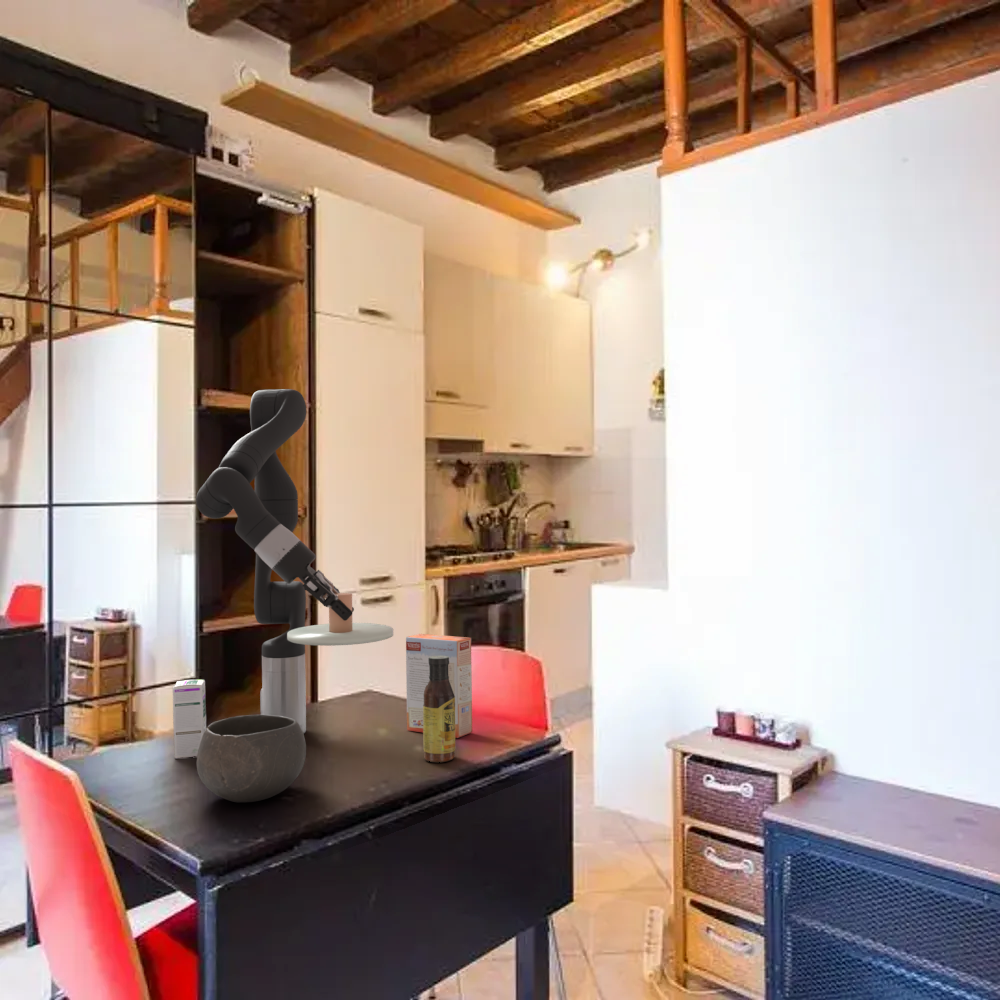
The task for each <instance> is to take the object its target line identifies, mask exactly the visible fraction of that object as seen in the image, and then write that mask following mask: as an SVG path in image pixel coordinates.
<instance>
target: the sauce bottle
mask: <svg viewBox="0 0 1000 1000" xmlns="http://www.w3.org/2000/svg"><path fill="white" fill-rule="evenodd" d="M448 665H449V657H448V656H431V657H429V670H430V676H429V679H430V681H429V682H428V685H427V686H426V687H425V690H424V705H423V733H422V734H423V735H422V736H423V737H422V738H423V740H422V741H423V744H422V745H423V746H422V747H423V758H424V759H425V761H426V762H429V761H430V763H439V762H440V763H445V762H450V761H452V760H453V759H454V758H455V752H456V738H455V696H454V693H453V690H452V687H451V684H450V682H449V676H448Z"/></svg>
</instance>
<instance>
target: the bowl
mask: <svg viewBox="0 0 1000 1000" xmlns="http://www.w3.org/2000/svg"><path fill="white" fill-rule="evenodd" d="M304 734H305V733H304ZM304 734H303V732H302V729H301V727H300V725H299V724H298V722H297V721H296V720H294V719H292V718H288V717H284V716H275V715H261V714H248V715H236V716H231V717H228V718H227V717H226V718H224V719H219V720H217V721H213V722H212V723H210V724H209V725H208V726H206V730H205V732H204V734H203V736H202V739H201V742H200V745H199V749H198V754H197V757H196V770H197V774H198V776H199V779H200V780H201V783H202V784H203V785H204V786H205V787H206V789H208V790H209V791H210V792H211V793H212V794H214V795H215V796H218V797H220V798H222V799H224V800H226V801H230V802H232V803H233V802H234V803H255V802H260V801H265V800H267V799H269V798H272V797H274V796H277V795H278V794H280V793H282V792H284V791H285V790H286V789H287V788H289V787H290V786H291V785H292V784H293V783H294V781H296V779H297V778H298V776H299V775H300V774H301V772H302V771H303V768H304V765H305V762H306V756H307V744H306V739H305V735H304Z"/></svg>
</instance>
